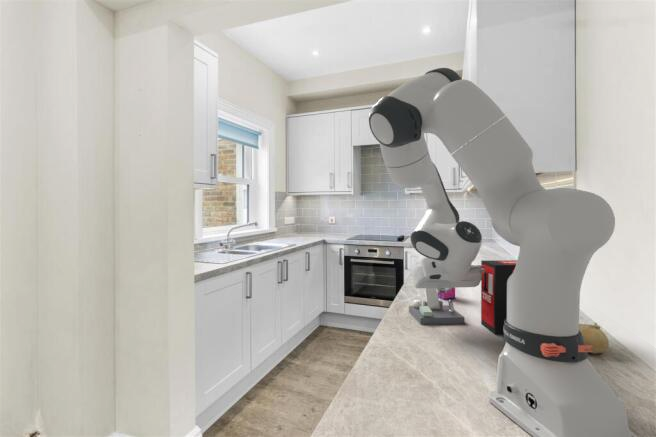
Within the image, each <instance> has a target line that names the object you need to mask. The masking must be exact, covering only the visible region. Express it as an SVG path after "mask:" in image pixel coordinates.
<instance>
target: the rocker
mask: <svg viewBox="0 0 656 437" xmlns="http://www.w3.org/2000/svg"><path fill="white" fill-rule="evenodd" d="M419 310H420V312H421V313H422V315H423V316H432V311H431V309H430V308H429V307H428V306H423V305H422V306H420V309H419Z"/></svg>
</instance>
